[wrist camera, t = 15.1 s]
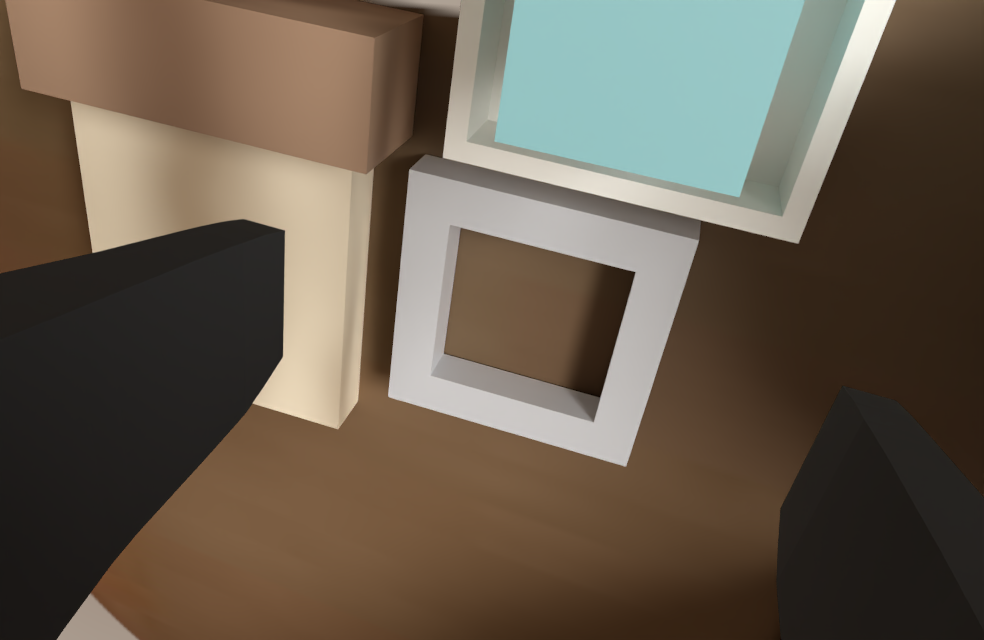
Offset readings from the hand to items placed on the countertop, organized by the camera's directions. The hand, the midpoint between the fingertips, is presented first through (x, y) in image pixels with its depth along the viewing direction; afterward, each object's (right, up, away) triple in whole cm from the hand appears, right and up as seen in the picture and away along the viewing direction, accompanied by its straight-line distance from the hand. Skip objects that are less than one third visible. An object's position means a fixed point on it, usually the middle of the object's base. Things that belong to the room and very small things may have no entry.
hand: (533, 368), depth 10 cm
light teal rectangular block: (+3, +8, +6) cm, 11 cm away
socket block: (+1, +1, +12) cm, 12 cm away
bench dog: (-7, +8, +10) cm, 14 cm away
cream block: (-8, +3, +14) cm, 16 cm away
